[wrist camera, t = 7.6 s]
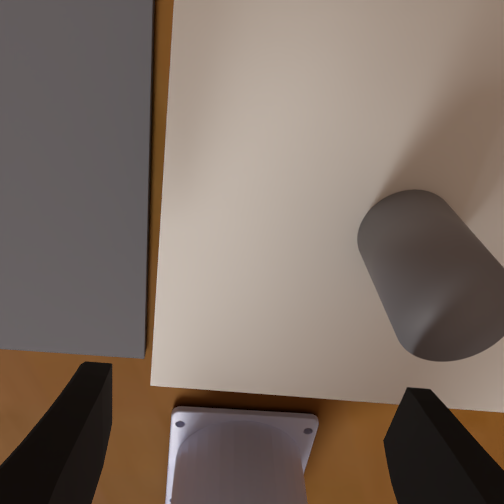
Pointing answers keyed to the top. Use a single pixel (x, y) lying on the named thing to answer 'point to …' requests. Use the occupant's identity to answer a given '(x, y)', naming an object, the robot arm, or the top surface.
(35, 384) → the top surface
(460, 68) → the lid
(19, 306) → the mat
